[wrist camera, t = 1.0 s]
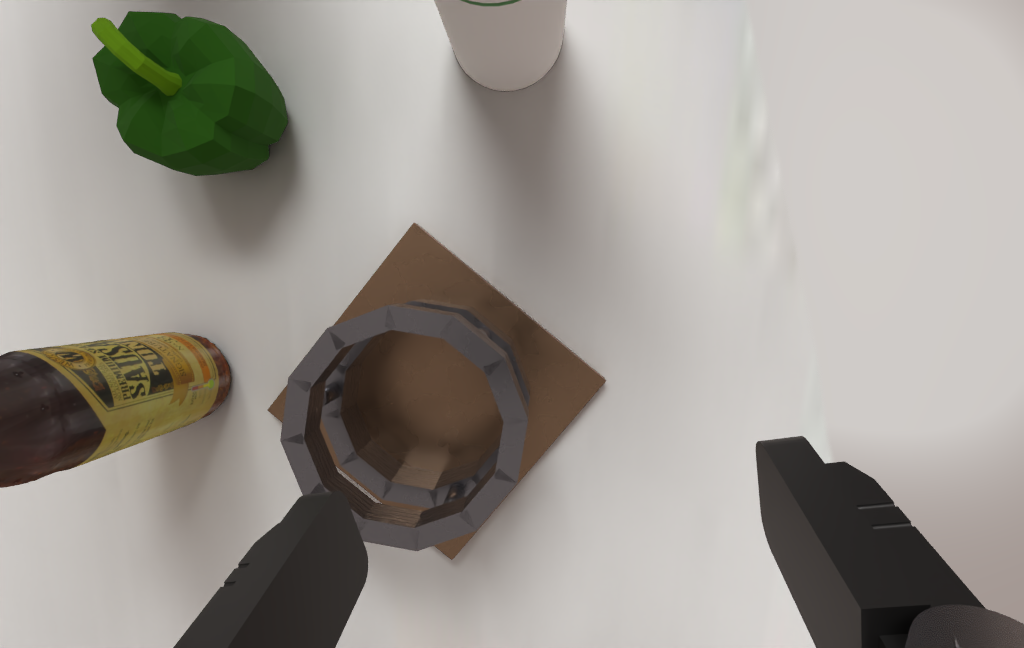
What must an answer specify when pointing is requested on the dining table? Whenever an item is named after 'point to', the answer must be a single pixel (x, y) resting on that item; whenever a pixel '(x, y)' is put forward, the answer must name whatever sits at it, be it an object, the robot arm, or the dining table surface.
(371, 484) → the collar stand
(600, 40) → the dining table surface
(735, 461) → the dining table surface
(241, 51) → the bell pepper
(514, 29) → the cylindrical container
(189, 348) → the sauce bottle
